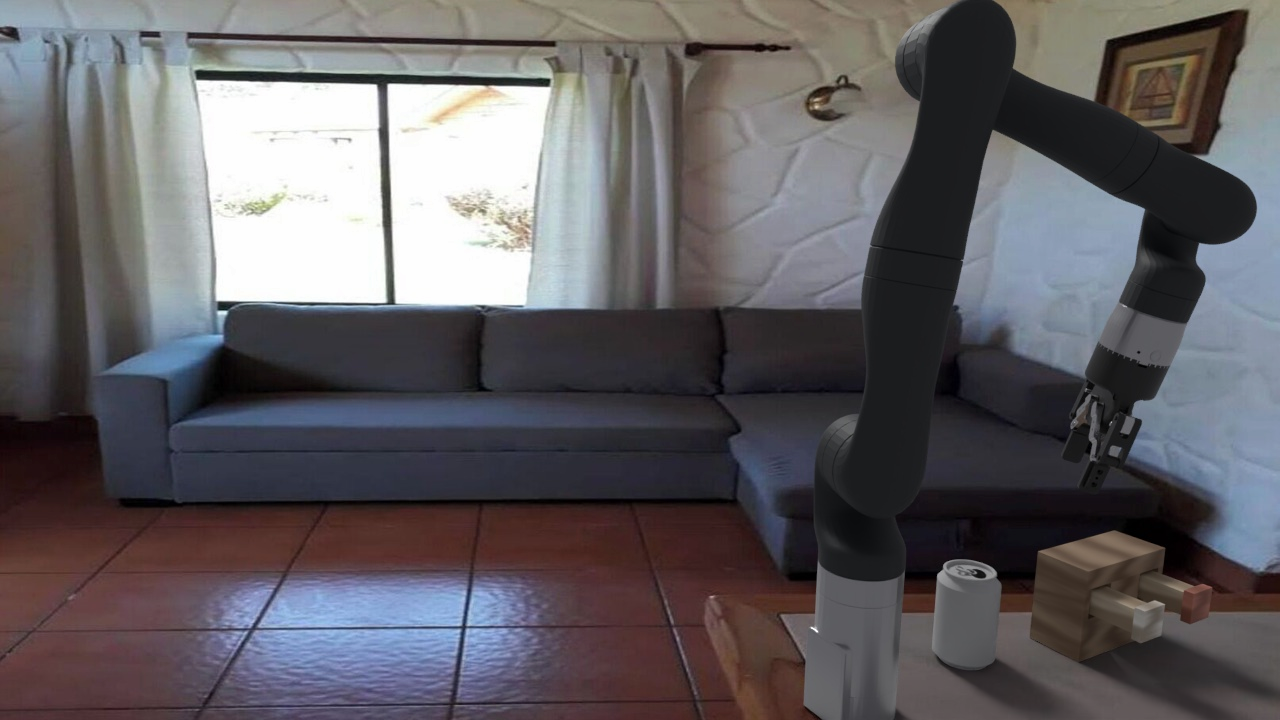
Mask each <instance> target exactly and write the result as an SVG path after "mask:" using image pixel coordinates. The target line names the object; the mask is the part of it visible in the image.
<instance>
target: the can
mask: <svg viewBox="0 0 1280 720" xmlns="http://www.w3.org/2000/svg"><path fill="white" fill-rule="evenodd" d="M936 575H937V576H936V589H935V601H934V602H935V603H934V614H933V626H932V627H933V629H932V639H931V640H932V642H931V650H932V651H933V653H934V654H935V655H936V656H937V657H938V658H939V659H940V661H941V662H943V663H944V664H946V665H948V666H950V667H952V668H955V669H959V670H965V671H978V670H982V669H984V668H986V667H987V666H989V665H991V664H993V663H994V661H995V660H996V653H997V652H996V651H997V642H998V630H999V621H1000V620H999V618H1000V609H1001V600H1002V599H1001V597H1002V596H1001V595H1002V583H1001V582H1000V581H999V579H998V578H997V577H998V572H997V571H996V570H995V569H994V568H993V567H992V566H990V565H988V564H986V563H983V562H982V561H981V562H979V561H976V560H971V559H952V560H949V561H946V562H944V564H943V566H942V570H941V571H940V572H938V573H937V574H936Z"/></svg>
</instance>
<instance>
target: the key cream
mask: <svg viewBox="0 0 1280 720" xmlns="http://www.w3.org/2000/svg"><path fill="white" fill-rule="evenodd" d="M1165 610H1166V609H1165V604H1163V603H1160V602H1158V601H1155V600H1154V601H1152V602H1149V603H1146V602H1143V601H1141V600H1138V599H1136V598H1133V597H1131V596H1129V595H1126V594H1124V593H1121V592H1119V591H1116V590H1114V589H1112V588H1109V587H1107V586H1104V585H1103V586H1100V587H1096V588H1093V589H1091V596H1090V605H1089V614H1090V615H1093V616H1095V617H1097V618H1099V619H1101V620H1104V621H1106V622H1108V623H1110V624H1113V625H1115V626H1117V627H1119V628H1122V629H1124V630H1126V631H1128V632H1131V633H1132V635H1131V639H1132V640H1135V641H1134V642H1137V643H1139V644H1142V643H1146V642H1148V641H1152V640H1153V639H1155V638H1158V637H1159V638H1160V637H1161V636H1162V630H1163V622H1164V618H1165V617H1164V615H1165Z"/></svg>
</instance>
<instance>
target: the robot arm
mask: <svg viewBox="0 0 1280 720" xmlns="http://www.w3.org/2000/svg"><path fill="white" fill-rule="evenodd" d="M1016 53H1017V36H1016V30H1015V27H1014V24H1013V20H1012V18H1011V17H1010V15H1009V13H1008V12H1007V10H1006V9H1005V8H1004V7H1003V6H1002V5H1001V4H999V3H998V2H997V1H995V0H956V1H953V2H952V3H949V4H946V5H944V6H943V7H942V8H940V9H938V10H936V11H934V12H932V13H930V14H928V15H926V16H924V17H923V18H922V19H920V20H918V21H917V22H916V23H914V24H913V25H912V26H911V27H910V28H909V29H908V30H907V31H906V32H905V33H904V34H903V36H902V38H901V39H900V40H899V42H898V45H897V48H896V52H895V55H894V67H895V72H896V73H895V74H896V77H897V79H898V82H899V83H900V84H899V85H900V86H902V88H903V90H904V91H905V92H906V93H907V94H908V95H909V96H910V97H911V98H913V99H915V101H918V102H919V104H918V111H917V115H916V116H917V117H916V122H915V129H914V133H913V137H912V141H911V143H910V147H909V150H908V153H907V155H906V158H905V160H904V162H903V165H902V166H901V168H900V172H899V173H898V175H897V176H896V179H895V181H894V183H893V185H892V187H891V189H890V190H889V193H888V195H887V197H886V199H885V202H884V204H883V205H882V208H881V210H880V212H879V215H878V218H877V219H876V222H875V225H874V229H873V231H872V235H871V239H870V243H869V245H870V246H869V248H868V254H867V257H866V258H867V259H866V262H865V263H866V264H865V267H864V269H865V270H864V274H863V278H862V279H863V280H862V283H861V285H862V286H861V293H860V294H861V296H860V297H861V298H860V299H861V300H860V303H861V304H860V305H861V306H860V307H861V320H862V321H861V323H862V331H863V340H864V341H863V342H864V349H865V350H864V351H865V352H864V353H865V361H866V362H865V363H866V365H865V368H866V369H865V371H866V372H865V381H864V382H865V383H864V389H863V395H862V400H861V404H860V408H859V411H858V412H859V413H853V414H852V413H851V414H847V415H845V416H841V417H840V418H838V419H836V420H835V421H833V422H832V423H831V424H830V425H829V426H827V428H826V429H825V430H824V432H823V433H822V435H821V437H820V439H819V442H818V444H817V447H816V452H815V458H814V459H815V460H814V471H813V475H814V476H813V479H814V480H813V528H814V534H815V537H816V541H817V547H818V548H817V551H818V552H817V573H816V589H815V591H816V592H815V608H814V609H815V611H814V625H810V626H809V627H808V628H807V630H806V644H805V645H806V648H805V649H806V650H805V651H806V652H805V669H804V687H803V689H804V690H803V691H804V692H803V706H805V707H806V709H808V710H809V711H811V712H812V713H813V714H815V716H817V717H819V718H820V719H821V720H894V719H895V716H896V704H897V691H898V677H899V675H898V673H899V664H900V663H899V661H900V646H901V645H900V643H901V634H902V633H901V631H902V618H903V617H902V616H903V615H902V614H903V604H904V603H903V602H904V591H905V590H904V589H905V588H904V587H905V586H904V585H905V574H906V573H905V572H906V563H907V547H906V544H905V541H904V538H903V535H902V534H901V532H900V528H899V526H898V523H897V519H896V516H897V515H899V514H901V513H902V512H903V511H905V510H906V509H907V508H909V507H910V505H911V504H912V503H913V502H914V500H915V499H916V497H917V496H918V494H919V492H920V491H921V488H922V485H923V483H924V479H925V474H926V469H927V463H928V454H929V445H930V433H931V425H932V416H933V407H934V398H935V393H936V392H935V391H936V386H937V381H938V376H939V372H940V369H941V368H940V367H941V362H942V359H943V354H944V349H945V346H946V345H945V344H946V338H947V333H948V328H949V324H950V318H951V315H952V310H953V307H954V303H955V299H956V295H957V292H958V288H959V283H960V278H961V274H962V268H963V264H964V260H965V255H966V249H967V248H966V247H967V244H968V243H967V242H968V237H969V231H970V227H971V223H972V218H973V214H974V209H975V206H976V201H977V196H978V195H977V194H978V191H979V186H980V180H981V175H982V169H983V166H984V160H985V157H986V153H987V150H988V146H989V143H990V140H991V136H992V132H993V131H994V132H997V133H999V134H1001V135H1003V136H1005V137H1007V138H1010V139H1011V140H1013V141H1016V142H1017V143H1019V144H1021V145H1024V146H1025V147H1027V148H1029V149H1031V150H1033V151H1034V152H1036V153H1038V154H1040V155H1042V156H1044V157H1045V158H1048V159H1049V160H1051V161H1053V162H1055V163H1056V164H1059V165H1060V166H1062V167H1064V168H1065V169H1066V170H1068V171H1069V172H1072V173H1073V174H1075V175H1076V176H1078V177H1080V178H1081V179H1083V180H1085V181H1086V182H1088V183H1090V184H1092V185H1093V186H1095V187H1097V188H1098V189H1100V190H1101V191H1103V192H1105V193H1107V194H1109V195H1111V196H1112V197H1115V198H1116V199H1119V200H1121V201H1123V202H1126V203H1129V204H1132V205H1135V206H1138V207H1140V208H1142V209H1144V212H1143V215H1142V220H1141V225H1140V230H1139V235H1138V241H1137V246H1136V254H1135V263H1134V266H1133V269H1132V271H1131V272H1130V274H1129V277H1128V279H1127V282H1125V283H1126V284H1125V285H1124V288H1123V290H1122V293H1121V294H1120V298H1119V301H1117V304H1116V306H1115V307H1114V309H1113V310H1112V312H1111V313H1110V315H1109V316H1108V319H1107V321H1106V323H1105V324H1104V327H1103V329H1102V332H1101V333H1100V336H1099V339H1098V341H1097V343H1096V345H1095V348H1094V350H1093V352H1092V355H1091V357H1090V359H1089V362H1088V364H1087V366H1086V368H1085V370H1084V376H1085V380H1084V383H1083V385H1082V387H1081V389H1080V392H1079V393H1078V395H1077V398H1076V400H1075V402H1074V403H1073V407H1072V408H1071V410H1070V412H1069V414H1068V415H1069V420H1072V421H1071V422H1070V433H1069V435H1068V437H1067V439H1066V442H1065V444H1064V446H1063V448H1062V451H1061V453H1060V455H1061V458H1062V460H1064V461H1067V462H1071V463H1074V464H1079V463H1080V462H1081V461H1082V459H1083V457H1084V455H1085V452H1086V450H1087V449H1088V447H1089V444H1090V442H1091V444H1092V445H1091V449H1090V455H1089V458H1088V460H1087V463H1086V465H1085V467H1084V468H1083V471H1082V473H1081V475H1080V477H1079V480H1078V482H1077V486H1076V487H1078V490H1079V491H1080V492H1083V493H1087V494H1091V495H1095V496H1096V495H1098V494H1099V493H1100V490H1101V488H1102V486H1103V484H1104V482H1105V481H1106V478H1107V476H1108V474H1109V471H1110V470H1111V468H1114V469H1117V470H1122V469H1123V468H1124V465H1125V463H1126V461H1127V458H1128V456H1129V454H1130V453H1131V450H1132V447H1133V445H1134V443H1135V441H1136V438H1137V437H1138V434H1139V432H1140V429H1141V427H1142V424H1143V420H1142V419H1141V418H1138V417H1134V416H1133V410H1134V407H1135V403H1136V402H1139V401H1144V402H1145V401H1147V402H1149V401H1151V400H1154V399H1155V398H1156V397H1157V395H1158V392H1159V391H1160V388H1161V386H1162V384H1163V382H1164V380H1165V377H1166V376H1167V373H1168V372H1169V369H1170V367H1171V365H1172V363H1173V360H1174V359H1175V356H1176V355H1177V352H1178V350H1179V349H1180V347H1181V344H1182V341H1183V338H1184V334H1185V331H1186V328H1187V326H1188V323H1189V321H1190V319H1191V317H1192V316H1193V313H1194V310H1195V308H1196V306H1197V304H1198V302H1199V300H1200V297H1201V295H1202V293H1203V291H1204V288H1205V286H1206V282H1207V281H1206V280H1207V277H1206V274H1205V272H1204V271H1203V269H1202V268H1201V267H1200V266H1199V265H1198V262H1197V255H1198V250H1199V246H1200V244H1203V245H1209V246H1211V245H1212V246H1215V245H1216V246H1217V245H1223V244H1224V245H1225V244H1228V243H1230V242H1233V241H1235V240H1237V239H1240V238H1241V237H1242V236H1243V235H1244V234H1246V233H1247V232H1248V231H1249V230H1250V228H1251V227H1252V226H1253V224H1254V221H1255V220H1256V217H1257V213H1258V212H1257V211H1258V203H1257V198H1256V196H1255V194H1254V192H1253V190H1252V189H1251V188H1250V186H1249V185H1248V184H1247V183H1246V182H1244V181H1243V180H1242V179H1240V178H1239V177H1238V176H1236V175H1234V174H1232V173H1230V172H1228V171H1226V170H1225V169H1222V168H1221V167H1218V166H1217V165H1214V164H1213V163H1210V162H1208V161H1206V160H1204V159H1201V158H1200V157H1197V156H1195V155H1192V154H1191V153H1188V152H1185V151H1183V150H1181V149H1180V148H1178V147H1176V146H1174V145H1173V144H1172V143H1170V142H1169V141H1167V140H1166V139H1165V138H1163V137H1162V136H1160V135H1158V134H1157V133H1155V132H1153V131H1152V130H1150V129H1149V128H1147V127H1145V126H1144V125H1142V124H1141V123H1139V122H1137V121H1135V120H1134V119H1133V118H1131V117H1129V116H1127V115H1125V114H1124V113H1122V112H1120V111H1118V110H1115V109H1113V108H1111V107H1109V106H1107V105H1104V104H1101V103H1099V102H1096V101H1093V100H1091V99H1088V98H1085V97H1082V96H1079V95H1077V94H1073V93H1071V92H1067V91H1064V90H1062V89H1061V90H1060V89H1059V88H1055V87H1053V86H1050V85H1047V84H1044V83H1042V82H1040V81H1037V80H1036V79H1034V78H1031V77H1030V76H1027V75H1026V74H1023V73H1022V72H1020V71H1018V70H1016V69H1015V68H1014V65H1015V60H1016V55H1017V54H1016Z"/></svg>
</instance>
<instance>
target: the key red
mask: <svg viewBox="0 0 1280 720" xmlns="http://www.w3.org/2000/svg"><path fill="white" fill-rule="evenodd" d="M1212 592H1213V587H1212V586H1210V585H1206V584H1204V583H1201V584H1198V585H1195V586H1194V585H1192V584H1189V583H1186V582H1184V581H1181V580H1178V579H1175V578H1174V577H1171V576H1168V575H1166V574H1163V573H1162V574H1160V573H1158V572H1155V571H1152V570H1149V571H1146V572H1143V573H1140V579H1139V588H1138V596H1137V597H1138V598H1140V599H1143V600H1145V601H1148V602H1152V601H1154V600H1155V601H1158V602H1160V603H1163V604H1165V609H1164V610H1168V611H1171V612H1173V613H1174V614H1175V613H1176V614H1177V615H1180V618H1179V621H1181V622H1183V623H1185V624H1187V625H1192V624H1195V623H1198V622H1201V621H1203V620H1206V619H1208V618H1209V617H1210V608H1211V607H1210V606H1211V603H1212V602H1211V601H1212V600H1211V599H1212V595H1213V594H1212Z"/></svg>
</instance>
